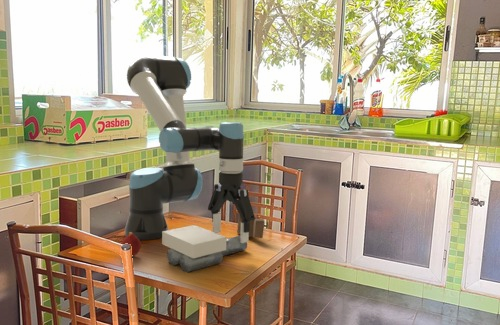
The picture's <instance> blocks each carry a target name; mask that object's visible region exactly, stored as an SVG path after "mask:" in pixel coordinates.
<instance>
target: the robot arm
mask: <svg viewBox="0 0 500 325" xmlns="http://www.w3.org/2000/svg"><path fill="white" fill-rule="evenodd" d="M128 66H129V67H128V69H127V72H126V81H127V84H128V86H129V87H130V90H131V92H133V93H134V94H136V95H138V97H139V98H140V100H141V102H142V103H143V105H144V107H145V108H146V110H147V112H148V114H149V115H150V117H151V118H152V120H153V122H154V123H155V125H156V126H157V128H158V130H159V131H160V132H159V135H158V142H159V147H160V148H161V151H163V152H165V159H166V160H165V161H166V162H165V164H164V165H162V167H155V166H154V167H145V168H140V169H137V170H134V171H133V172H131V174H130V176H129V184H128V187H129V215H128V218H127V221H126V224H125V227H124V236H125V237H126V236H128V235H129V234H128V233H129V232H132V233H133V234H134V235H135V236H136V237H137V238H138V239H139V240H140V241H145V240H147V241H148V240H157V239H162V231H167V230H169V229H168V227H169V226H168V224H167V220H166V218H165V215H164V214H165V213H164V204H170V203H179V202H187V201H192V200H195V199H197V198H198V197H199V196H200V193H201V192H202V188H203V181H204V180H203V175H202V173H201V171H200V169H198V168H196V167H195V163H194V162H193V161H192V160H191V159H190V158H191V157H190V152H201V151H202V152H203V151H218V159H219V160H218V161H219V162H218V164H219V165H218V170H219V171H220V172H219V173H218V183H216V184H214V186H213V191H212V195H211V197H210V200H209V204H208V206H207V210H208V211H210V212H211V216H212V219H211V221H212V232H214V233H217V234H220V233H222V230H221V229H222V224H221V221H222V213H221V209H222V207H223V206H224V205H225V203H226V202H227V201H229V202H230V203H232V204H233V205H234V206H235V208H236V211H237V213H238V216H239V215H240V217H241V219H242V222H241V231H240V234H239V236H240V243H245V242H247V243H248V242H249V231H250V221H254V220H255V218H256V217H255V214H254V210H253V207H252V204H251V203H252V202H251V200H250V197H249V190H248V189H247V188H246V189H245V188H244V189H242V188H241V186H242V184H243V182H244V174H243V171H244V137H245V135H244V125H243V123H242V122H234V121H233V122H232V121H228V122H226V121H224V122H220V123H219V127H216V126H212V125H210V126H206V125H205V126H202V127H201V126H200V127H187V122H186V114H185V113H186V112H185V105H184V104H185V103H184V102H185V101H184V96H185V94H186V93H187V90H188V88H189V87H190V85H191V82H192V81H191V80H192V72H191V68H190V66H189V63H187V61H185V59H184V58H180V57H175V56H162V55H161V56H160V55H150V54H149V55H141V56H139V57H136V58H135V59H134V60H132V62H131V63H130V65H128ZM245 217H246V218H245Z"/></svg>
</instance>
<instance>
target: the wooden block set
mask: <svg viewBox="0 0 500 325" xmlns="http://www.w3.org/2000/svg"><path fill="white" fill-rule="evenodd" d="M237 218H238V219H237V220H238V222H237V232H236V233H237V234H238V235H240V231H241V222H242V219H241V217H240V215H239V214H238V217H237ZM245 218H246V217H245ZM264 227H265V220H264V219H263V218H259V217H255V220H254V221H250V231H249V237H251V238H257V239H263V238H264ZM249 237H248V238H249Z"/></svg>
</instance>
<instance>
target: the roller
mask: <svg viewBox="0 0 500 325" xmlns="http://www.w3.org/2000/svg"><path fill="white" fill-rule="evenodd" d="M247 248H248V242H245V243H240V235H237V236H232V237H228V238H227V237H226V250H224V251H221V252H222V255H223V256H228V255H231V254H235V253H239V252H243V251H245V250H246V249H247Z"/></svg>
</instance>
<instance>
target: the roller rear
mask: <svg viewBox="0 0 500 325" xmlns="http://www.w3.org/2000/svg"><path fill="white" fill-rule="evenodd" d="M182 255H185V254H182V253H180V252H178V251H176V250H174V249H171V248H169V249H168V250H167V252H166V258H167V261H168V263H169V264H170V265H171V266H177V265H180V258H181V256H182Z"/></svg>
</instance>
